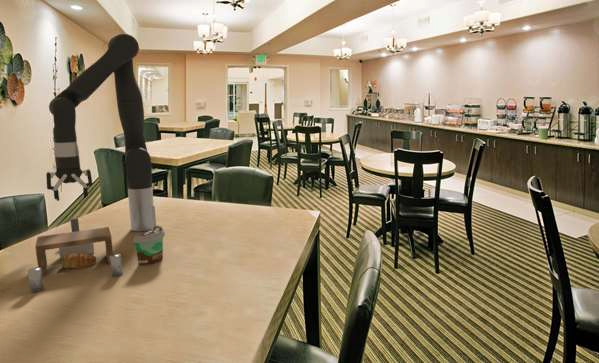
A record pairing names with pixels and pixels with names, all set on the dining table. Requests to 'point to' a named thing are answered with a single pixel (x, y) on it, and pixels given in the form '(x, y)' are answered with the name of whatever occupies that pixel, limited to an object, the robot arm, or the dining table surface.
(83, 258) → the pastry
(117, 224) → the dining table surface
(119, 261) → the goal posts
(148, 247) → the food container
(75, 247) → the scraper
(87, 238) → the low shelf
